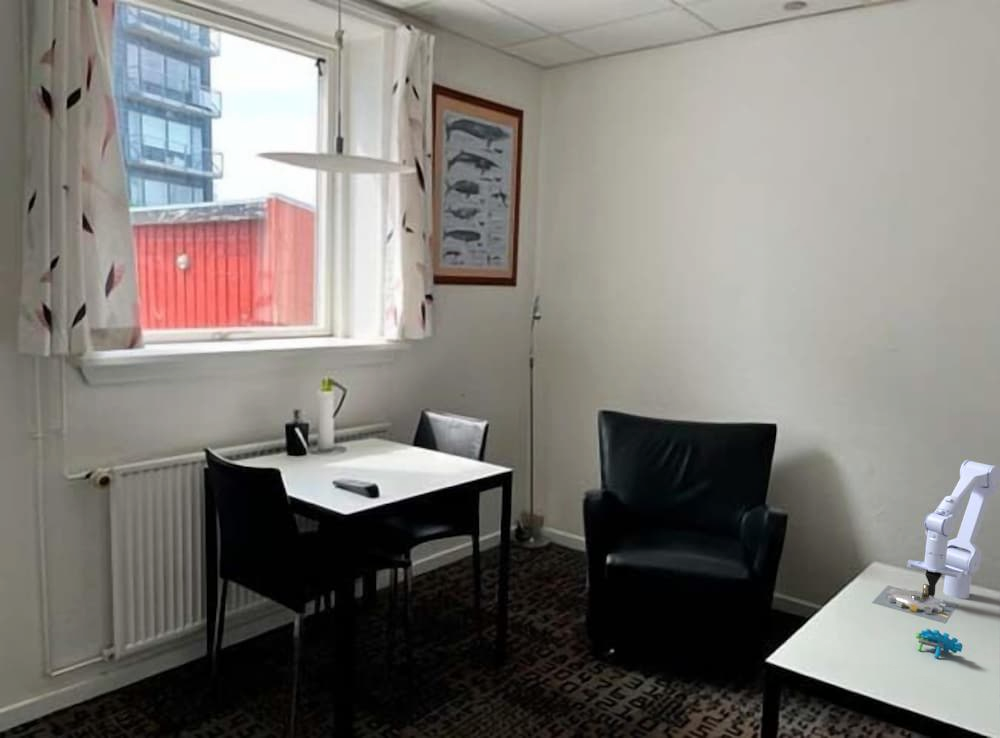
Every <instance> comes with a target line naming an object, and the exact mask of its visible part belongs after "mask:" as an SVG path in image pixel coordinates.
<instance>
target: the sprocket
mask: <svg viewBox="0 0 1000 738" xmlns="http://www.w3.org/2000/svg"><path fill="white" fill-rule="evenodd" d="M929 589H930V586H929V583H928V584H927V583H924V584H923V585H922V592H921V590H917V589H913V590H908V589H907V588H903V587H900V590H897V589H894V588H893V589H890V591H887V593H886V597H888V599H887V600H888V601H889V602H895V603H896V606H898V607H901V608H902V607H906V608H909V609H910V611H914V612H916V611H917V610H918V611H923V612H924V613H926V614H931V613H932V611H933V612H936V613H942V610H944V611H945V604H943V601H942V600H943V599H941V598H937V599H935V598H936V597H935V595H934V596H930V595H929Z"/></svg>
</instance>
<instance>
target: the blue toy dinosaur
mask: <svg viewBox="0 0 1000 738" xmlns="http://www.w3.org/2000/svg"><path fill="white" fill-rule="evenodd" d="M915 638H916V639H917V640H918V641H917V642H918V643H919V645H918V648H917V651H918V652H922V648H923V646H929V647H933V648H935V649H936V650H935V653H934V659H940V654H941V652H942V650H943V652H945V653H949V652H950V651H951V652H952V653H953V654H957V653H958V652H959V653H960V652H962V650H963V646H964V645H963V644H962V643H961V642H959V639H958V638H956V637H952V638H950V634H949V633H947V632H943V634H941V632H940V630H938V629H933V630H931V629H929V628H925V630H924V629H923V630H921V632H916V635H915Z"/></svg>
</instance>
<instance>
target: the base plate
mask: <svg viewBox="0 0 1000 738" xmlns="http://www.w3.org/2000/svg"><path fill="white" fill-rule="evenodd" d="M893 588H894V589H897V590H900V588H901V587H900V588H899V587H896V586H891V585H887V586H886V587H885V588H884V589H883V590H882V591H881V592H880V593H879V594H878V595H877V596H876V597H875V598H874V599H873V600H872V601H871V604H875V605H878V606H882V607H885V608H888V609H893V610H896V611H900V612H903V613H907V614H910V615H914V616H916V617H921V618H923V619H924V618H925V619H927V620H931V621H935V622H938V623H941V624H946V623H947V622H948V621H949V619H950V617H951V616H952V614H953V612H954V611H955V610H956V608H957V606H958V605H959V604H958V603H955V602H952V601H948V600H946V599H945V600H944V599H941V600H942V601H943V604H945V611H944V610H942V613H936V612H933V611H932V613H931V614H926V613H924V612H923V611H918V610H917V611H916V612H914V611H910V609H909V608H906V607H902V608H901V607H898V606H896V603H895V602H889V601H888V600H887V599H888V597H886V593H887V591H890V589H893ZM934 598H935V599H938V597H937V598H936V597H934Z"/></svg>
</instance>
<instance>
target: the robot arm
mask: <svg viewBox="0 0 1000 738" xmlns="http://www.w3.org/2000/svg"><path fill="white" fill-rule="evenodd" d="M959 477H960V478H959V480H958V482H957V484H956V485H955V488H954V489H953V491H952V493H951V495H946V496H945V497H944V498H943V500H941V502H940V503H939V505H938V506H937V508H936V509H935V511H934V512H931V513H928V514H927V515H926V517H925V520H924V522H923V527H924V530H925V531H924V532H925V533H924V534H925V537H926V543H925V553H924V560H923V561H921V560H914V559H913V560H912V559H909V560H908V561H907V564H906V566H907V568H911V569H912V568H914V569H916V570H917V569H918V570H921V571H925V577H926V579H927V582H928V585H929V586H930V589H929V595H930V596H934V597H935V594H936V585H937V583H939V580H940V579H941V577H942V576H944V582H943V589H942V593H943V595H946V596H948V597H951V598H955V599H959V600H966V599H969V598H970V594H971V592H970V591H971V585H972V577H973V574H975V573H977V572H978V570H979V569H980V566H981V557H982V552H981V550H980V548H978V546H977V545H976V544H975V543H976V540H977V536H978V533H979V530H980V528H981V525H982V522H983V518H984V515H985V513H986V509H987V506H988V503H989V500H990V498H991V495H993V494H996V492H997V490H998V487H999V484H1000V468H999V466H997V465H992V464H991V465H990V464H987V463H982V462H977V461H972V460H970V459H966V460H964V461H963V462H962V464H961V466H960V469H959ZM969 495H970V497H969V501H968V503H967V506H966V509H965V512H964V514H963V518H962V521H961V523H960V526H959V530H958V532H957V536H956V537H955V538H953V539H950V540H949V536H950V535H951V534H952V533H953V531H954V528H955V524H956V521H957V520H956V519H957V518H958V516H959V514H960V513H961V512H962V511H963V509H964V503H963V502H964V501H965V500H966V498H967V497H968V496H969Z"/></svg>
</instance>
